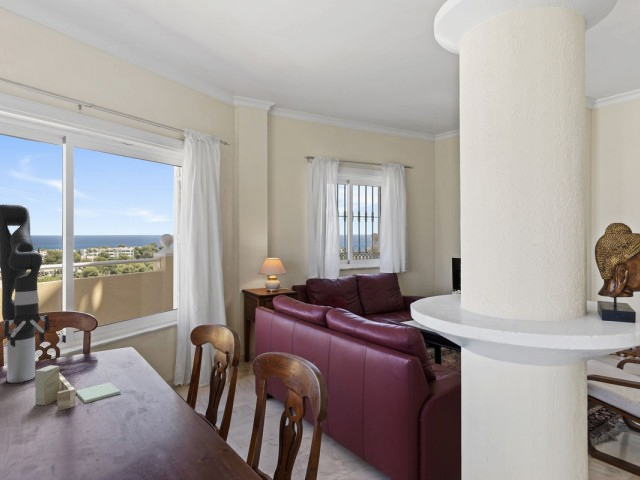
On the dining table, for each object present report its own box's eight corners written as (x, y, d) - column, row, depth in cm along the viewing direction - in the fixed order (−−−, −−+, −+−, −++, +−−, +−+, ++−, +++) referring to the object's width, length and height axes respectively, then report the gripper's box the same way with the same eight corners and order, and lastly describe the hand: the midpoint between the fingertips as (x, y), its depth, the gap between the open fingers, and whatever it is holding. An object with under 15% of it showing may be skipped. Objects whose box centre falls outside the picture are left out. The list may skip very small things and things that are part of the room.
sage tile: (75, 393, 148) (75, 390, 148) (109, 384, 157) (109, 382, 156) (84, 403, 140) (84, 400, 140) (120, 393, 148) (120, 390, 148)
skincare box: (45, 405, 137) (44, 371, 137) (34, 404, 138) (34, 370, 138) (60, 398, 144) (60, 365, 143) (50, 397, 144) (50, 364, 144)
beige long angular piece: (44, 391, 149) (44, 375, 149) (59, 387, 153) (59, 372, 153) (58, 410, 134) (58, 393, 134) (75, 406, 137) (75, 389, 137)
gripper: (46, 300, 160) (47, 339, 160) (1, 304, 150) (2, 346, 150) (50, 301, 155) (51, 342, 155) (4, 305, 145) (5, 349, 145)
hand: (27, 344), depth 152 cm, fingers open, 8 cm apart
